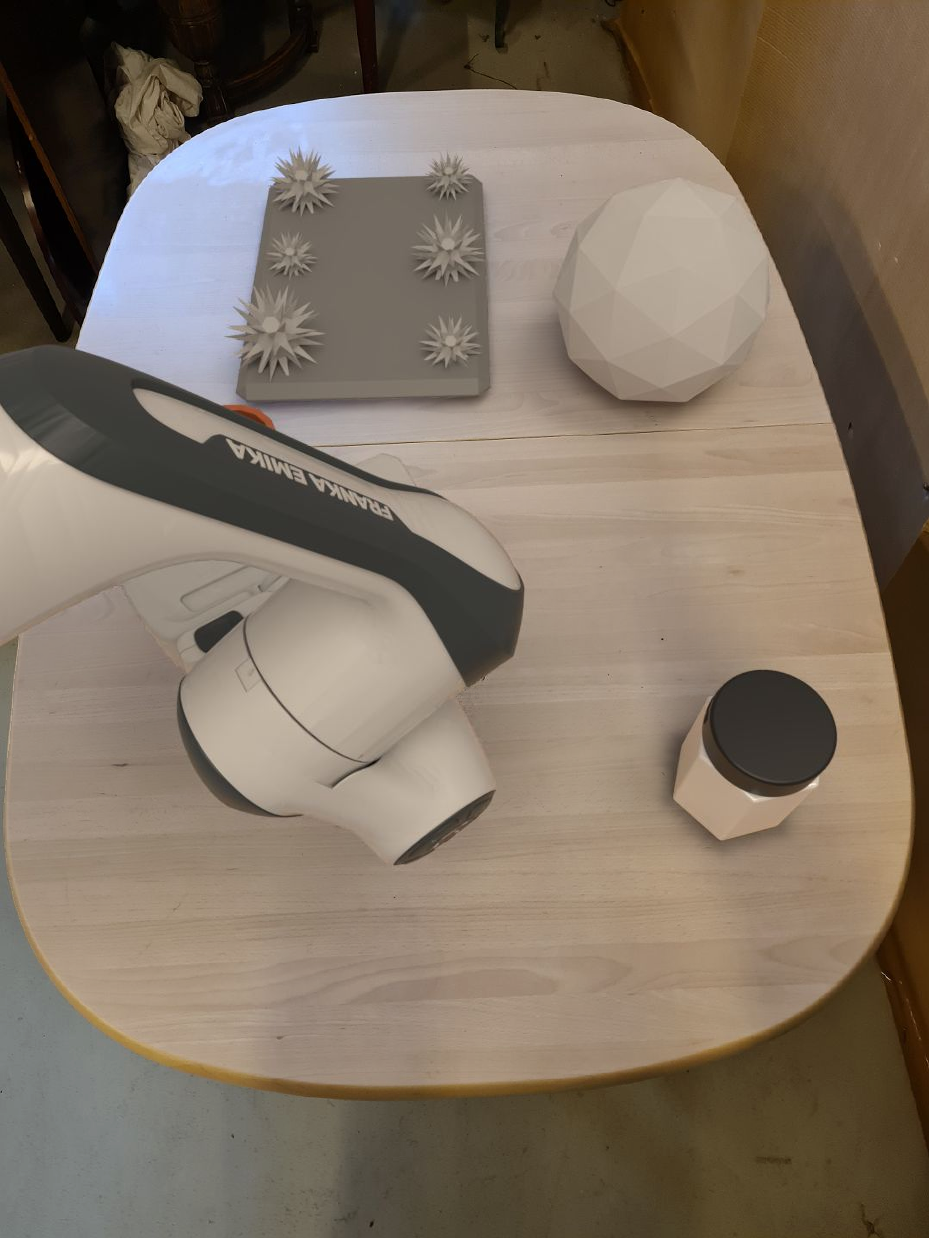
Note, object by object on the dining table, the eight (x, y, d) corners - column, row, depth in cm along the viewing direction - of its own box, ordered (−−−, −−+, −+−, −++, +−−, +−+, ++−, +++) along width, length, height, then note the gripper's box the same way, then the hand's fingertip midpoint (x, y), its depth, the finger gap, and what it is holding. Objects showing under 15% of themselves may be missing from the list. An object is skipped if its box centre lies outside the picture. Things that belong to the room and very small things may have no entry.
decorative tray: (490, 409, 85) (491, 330, 76) (232, 415, 85) (203, 337, 77) (482, 192, 102) (482, 107, 94) (267, 197, 103) (247, 114, 94)
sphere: (658, 388, 95) (792, 229, 84) (679, 479, 80) (847, 299, 69) (517, 293, 90) (640, 108, 79) (511, 370, 74) (663, 155, 63)
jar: (760, 723, 68) (810, 654, 58) (804, 821, 64) (867, 765, 54) (653, 749, 67) (684, 684, 57) (692, 850, 63) (733, 800, 53)
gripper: (464, 522, 54) (363, 386, 60) (157, 672, 49) (81, 507, 55) (465, 577, 59) (373, 447, 66) (189, 717, 54) (117, 562, 60)
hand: (237, 475), depth 60 cm, fingers closed on pot, 6 cm apart
